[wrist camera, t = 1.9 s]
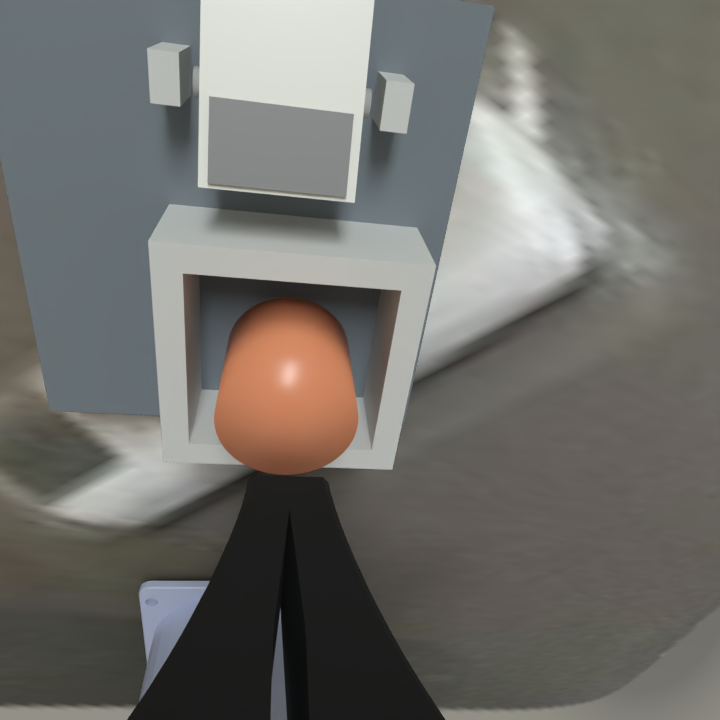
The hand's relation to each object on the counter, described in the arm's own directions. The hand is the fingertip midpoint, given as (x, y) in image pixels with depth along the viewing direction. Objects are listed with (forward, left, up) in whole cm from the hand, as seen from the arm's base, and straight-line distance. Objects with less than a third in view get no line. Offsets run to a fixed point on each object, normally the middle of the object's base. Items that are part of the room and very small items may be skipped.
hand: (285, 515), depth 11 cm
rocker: (+6, +1, -6) cm, 9 cm away
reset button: (0, 0, -6) cm, 6 cm away
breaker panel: (+3, +2, -9) cm, 10 cm away
